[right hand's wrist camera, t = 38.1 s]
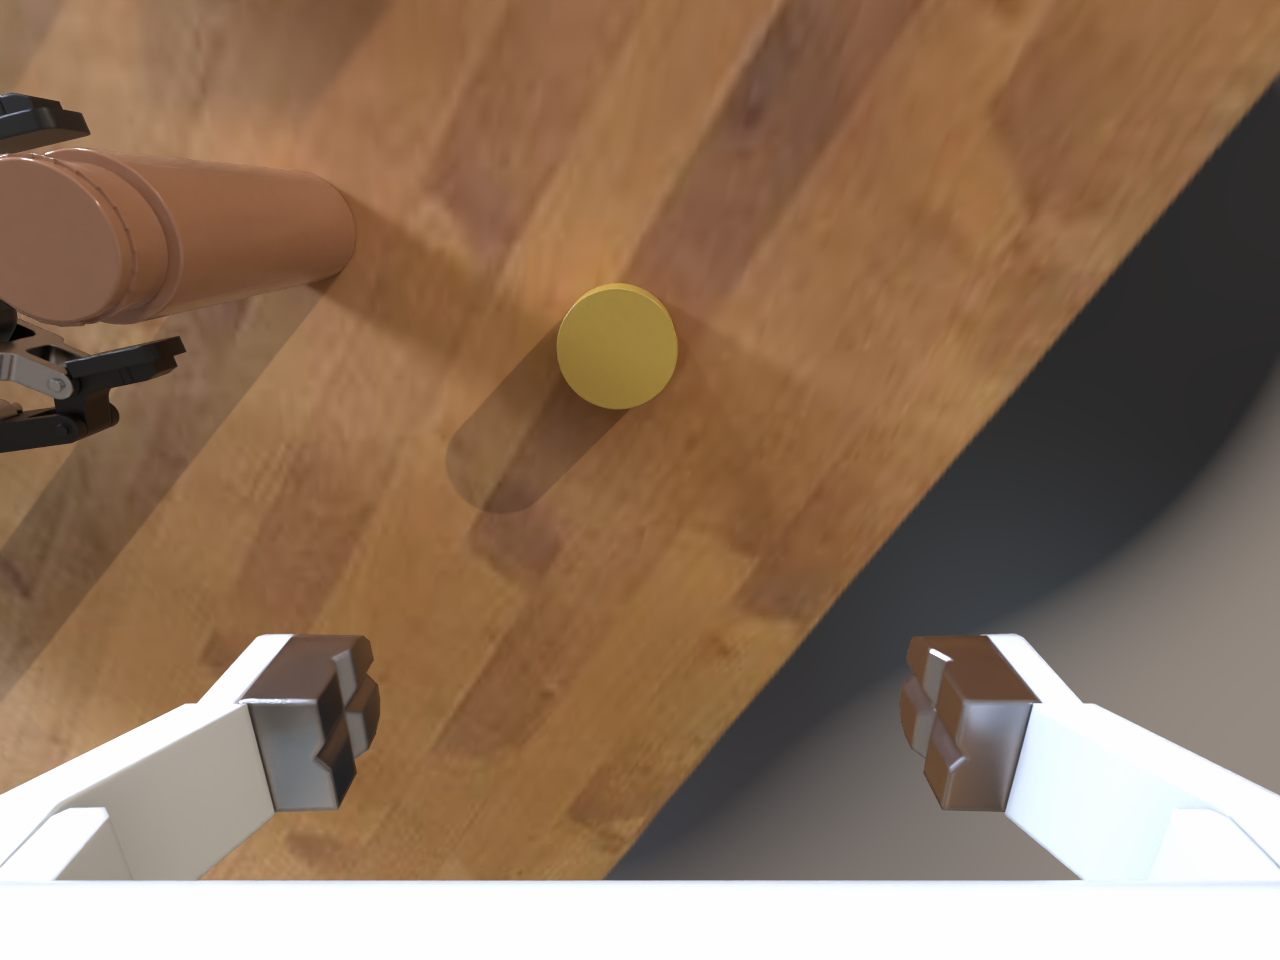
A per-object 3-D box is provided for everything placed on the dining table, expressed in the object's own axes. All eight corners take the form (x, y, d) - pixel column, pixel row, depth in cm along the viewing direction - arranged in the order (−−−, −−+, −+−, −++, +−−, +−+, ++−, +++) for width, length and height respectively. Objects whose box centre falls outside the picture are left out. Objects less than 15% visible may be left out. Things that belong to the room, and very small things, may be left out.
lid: (636, 417, 37) (636, 431, 34) (540, 359, 35) (534, 370, 33) (697, 323, 35) (701, 331, 33) (599, 259, 34) (596, 263, 31)
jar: (239, 173, 32) (-92, 144, 18) (345, 168, 32) (100, 136, 18) (265, 282, 34) (-17, 340, 19) (365, 279, 34) (158, 333, 19)
